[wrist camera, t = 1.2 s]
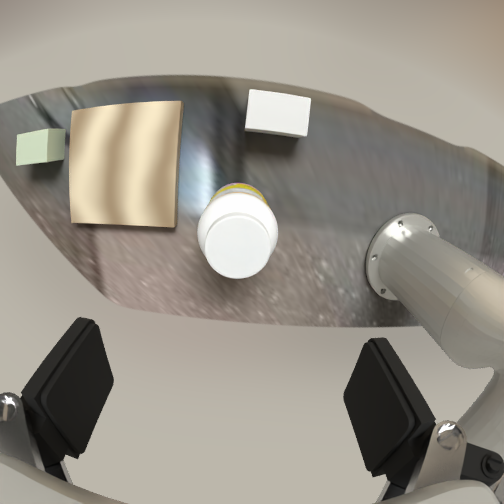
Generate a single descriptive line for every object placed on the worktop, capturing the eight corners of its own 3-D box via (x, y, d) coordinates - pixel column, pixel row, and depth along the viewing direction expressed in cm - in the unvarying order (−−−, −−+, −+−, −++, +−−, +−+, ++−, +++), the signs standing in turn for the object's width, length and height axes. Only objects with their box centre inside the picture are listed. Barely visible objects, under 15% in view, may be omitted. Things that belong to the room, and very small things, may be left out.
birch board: (184, 103, 27) (181, 100, 25) (177, 223, 31) (174, 227, 30) (78, 111, 26) (72, 110, 24) (77, 219, 30) (71, 222, 29)
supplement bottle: (256, 245, 33) (265, 302, 21) (202, 229, 32) (180, 277, 20) (275, 192, 31) (299, 220, 19) (219, 173, 30) (204, 189, 18)
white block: (302, 104, 27) (311, 98, 24) (298, 137, 29) (306, 136, 25) (248, 97, 27) (249, 89, 23) (244, 131, 28) (245, 127, 24)
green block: (66, 129, 26) (48, 128, 23) (64, 159, 28) (46, 162, 24) (35, 134, 26) (17, 134, 22) (34, 162, 27) (16, 165, 24)
